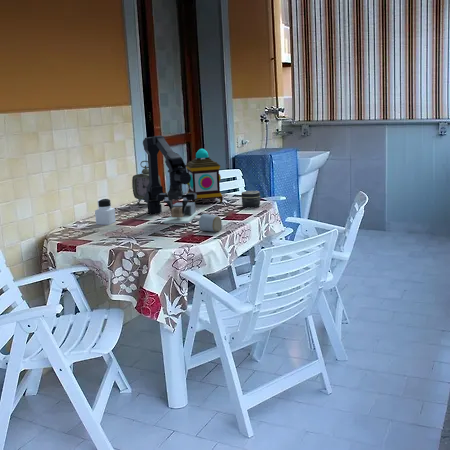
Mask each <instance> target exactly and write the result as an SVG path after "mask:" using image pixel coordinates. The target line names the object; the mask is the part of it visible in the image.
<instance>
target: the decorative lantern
mask: <svg viewBox="0 0 450 450" xmlns="http://www.w3.org/2000/svg"><path fill="white" fill-rule="evenodd" d="M185 165H186V169H187V173H189V174H190V176H191V180H190V182H189V183H188V184H186V185H187V186H188V191H187V193H186V195H187V194H188V193H196V194H197V198H196V199H195V200H191V202H195V203H196V201H198V200H199V201H200V200H208V199H209V200H210V199H219V202H220V203H223V197H224V196H223V195H222V193H221V186H220V182H221V180H222V179H221V178H222V177H221V174H220V169H221V165H220V164H219V163H218V162H217V161H215V160H212V158H211V157H209V153H208V151H207V150H206V149H205V148H199V149H198V150H197V152H195V157H194V158H193V159H191V161H188V162H187V163H185Z"/></svg>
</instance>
